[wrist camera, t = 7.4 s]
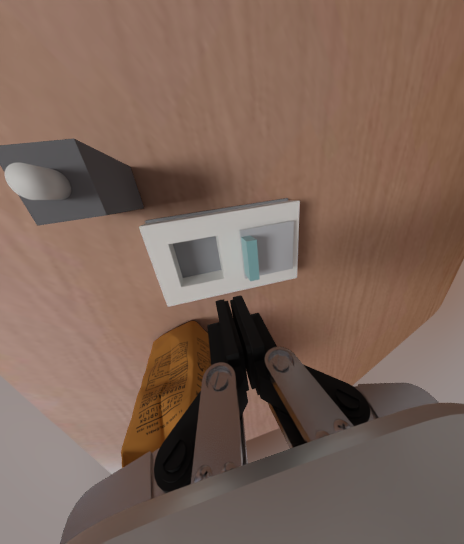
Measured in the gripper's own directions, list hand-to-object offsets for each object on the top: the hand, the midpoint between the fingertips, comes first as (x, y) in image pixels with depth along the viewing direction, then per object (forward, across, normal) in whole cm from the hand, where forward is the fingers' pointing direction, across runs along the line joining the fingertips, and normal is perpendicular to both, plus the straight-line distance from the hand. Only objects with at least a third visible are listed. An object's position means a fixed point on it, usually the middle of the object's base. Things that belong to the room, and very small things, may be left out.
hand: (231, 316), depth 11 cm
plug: (+16, +10, -9) cm, 21 cm away
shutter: (+12, -7, +1) cm, 14 cm away
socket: (+16, -2, +1) cm, 16 cm away
